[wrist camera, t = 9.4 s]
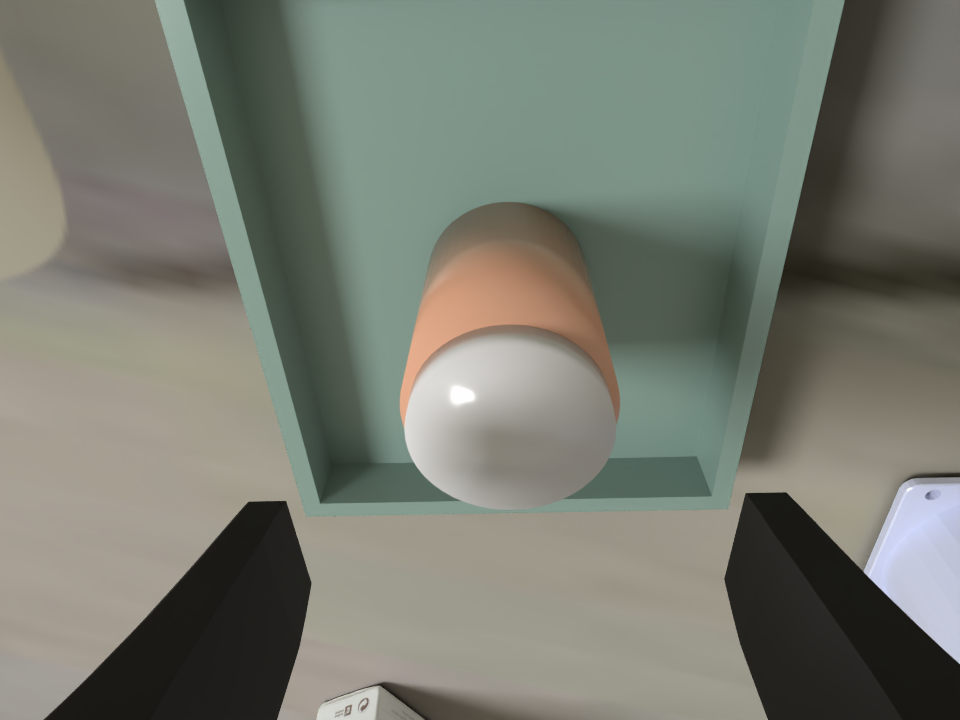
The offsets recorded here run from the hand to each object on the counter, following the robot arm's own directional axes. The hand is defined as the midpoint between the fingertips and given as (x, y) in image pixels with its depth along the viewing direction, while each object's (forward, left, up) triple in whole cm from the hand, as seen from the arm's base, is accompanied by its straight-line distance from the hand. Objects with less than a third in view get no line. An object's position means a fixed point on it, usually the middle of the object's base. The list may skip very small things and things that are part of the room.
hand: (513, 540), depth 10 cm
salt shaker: (0, 0, -10) cm, 10 cm away
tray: (0, 0, -10) cm, 10 cm away
